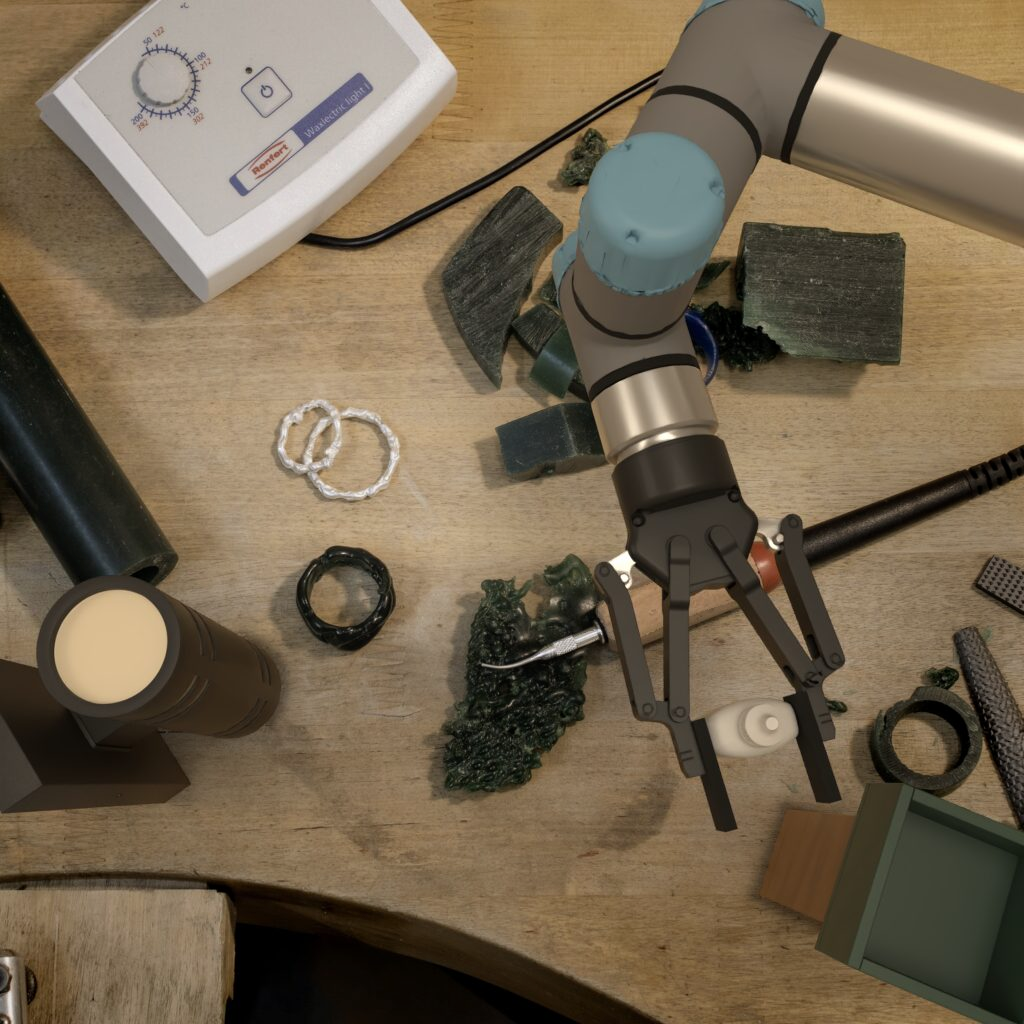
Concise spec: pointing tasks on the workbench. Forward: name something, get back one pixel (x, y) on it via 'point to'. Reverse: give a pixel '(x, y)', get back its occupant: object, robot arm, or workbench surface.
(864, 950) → the waste bin
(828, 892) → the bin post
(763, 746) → the eye dropper bottle
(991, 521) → the workbench surface
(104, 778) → the light fixture
